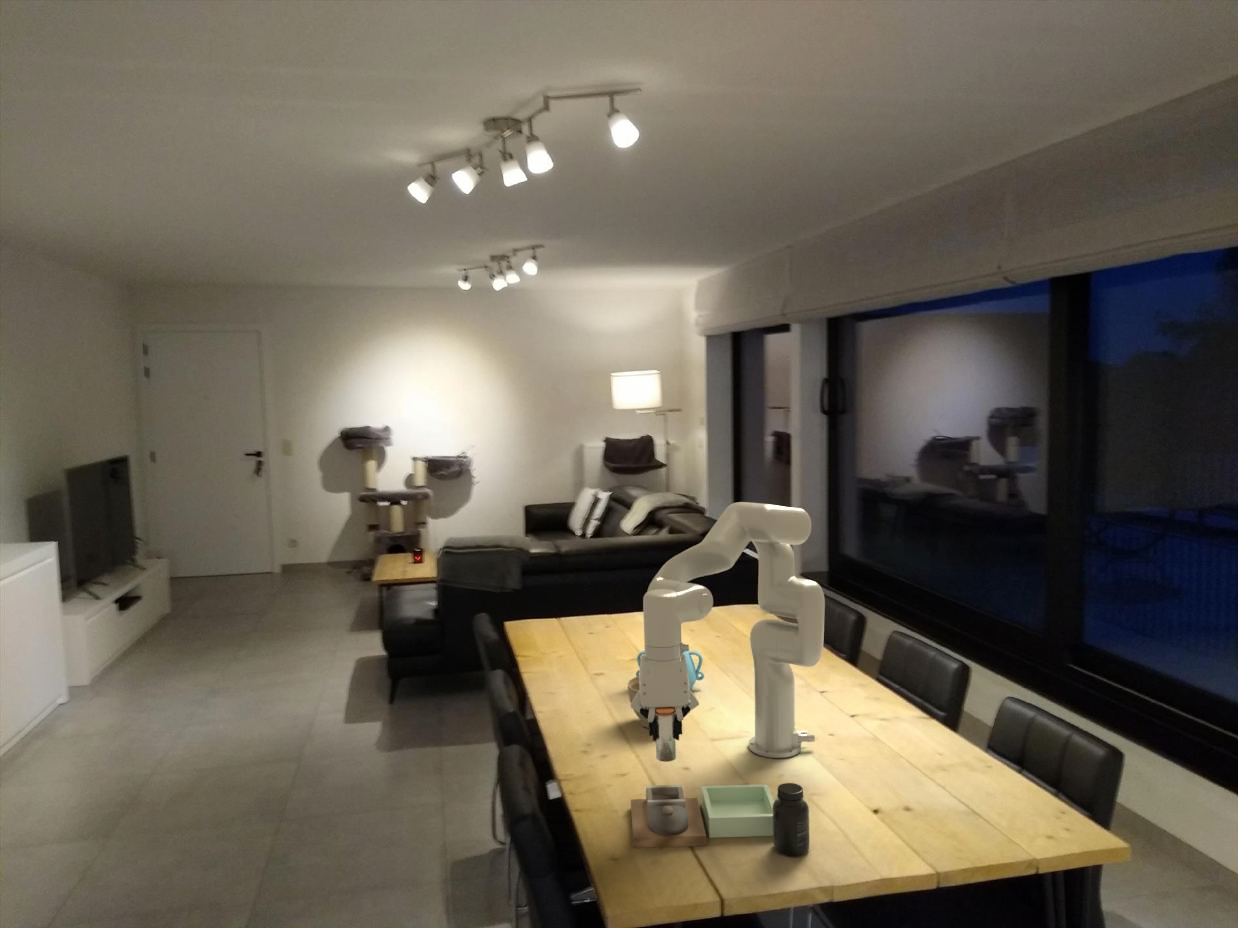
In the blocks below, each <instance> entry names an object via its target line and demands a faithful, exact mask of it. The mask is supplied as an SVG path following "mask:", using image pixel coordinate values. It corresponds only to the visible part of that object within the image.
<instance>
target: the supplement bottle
mask: <svg viewBox="0 0 1238 928" xmlns="http://www.w3.org/2000/svg"><path fill="white" fill-rule="evenodd" d="M804 795H805V794H804V788H803V787H802V785H800V784H797V783H795V782H785V783H781V784H779V785H778V786H777V795H776V796H777V798H776V799H774V803H773V836H772V839H773V841H772V843H773V848H774V850H775V851H776V852H777V853H778V854H780V855H782V856H785V857H792V858H795V857H796V858H797V857H801V856H805V855H806V854H807V853H808V852H809V851H810V810H809V809H810V808H809V805H808V803H807V802H806V800H805V799H804V798H805V797H804Z"/></svg>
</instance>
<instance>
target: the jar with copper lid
mask: <svg viewBox="0 0 1238 928" xmlns="http://www.w3.org/2000/svg"><path fill="white" fill-rule="evenodd" d="M675 712H676V710H675V707H663V708H655V721H656V737H657V740H656V741H655V748H656V749H655V752H656V753H655V754H656V760H657V761H659V762H665V763H666V762H672V761H675V760H676V759H677V754H676V753H677V751H676V750H677V748H676V747H677V746H676V742H677V740H676V739H675Z"/></svg>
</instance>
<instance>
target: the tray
mask: <svg viewBox="0 0 1238 928" xmlns="http://www.w3.org/2000/svg"><path fill="white" fill-rule="evenodd" d="M700 792H701V793H700V794H701V796H700V797H701V803H700V804H701V808H702V812H703V816H704V820H705V825H706V828H707V833H708V836H709V837H708V838H710V839H711V838H739V837H740V838H742V837H773V803H774V802H775V799H774V797H773V795H772V792H771V789H770V788H769V785H768V784H767V783H763V784H729V785H726V784H725V785H724V784H723V785H702V786H701V790H700Z"/></svg>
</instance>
